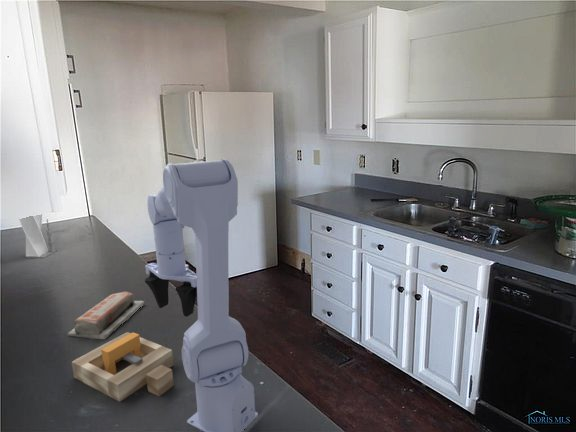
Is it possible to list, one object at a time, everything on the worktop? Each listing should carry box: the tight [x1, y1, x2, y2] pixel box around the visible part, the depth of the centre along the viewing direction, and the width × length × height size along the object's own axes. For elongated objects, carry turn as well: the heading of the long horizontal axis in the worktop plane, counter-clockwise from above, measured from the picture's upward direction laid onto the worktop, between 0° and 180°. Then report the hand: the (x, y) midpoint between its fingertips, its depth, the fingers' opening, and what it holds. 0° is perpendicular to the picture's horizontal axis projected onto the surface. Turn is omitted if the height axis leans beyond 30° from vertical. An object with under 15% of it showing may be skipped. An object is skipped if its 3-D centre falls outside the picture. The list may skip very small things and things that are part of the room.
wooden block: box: [101, 332, 142, 375], centre depth 86 cm, size 2×7×6 cm, turn 148°
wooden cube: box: [146, 365, 174, 397], centre depth 81 cm, size 3×4×4 cm
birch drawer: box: [71, 331, 175, 403], centre depth 86 cm, size 14×13×5 cm
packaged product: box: [67, 291, 145, 340], centre depth 108 cm, size 18×5×10 cm
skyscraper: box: [18, 213, 57, 259], centre depth 153 cm, size 8×8×28 cm
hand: (175, 310), depth 93 cm, fingers open, 7 cm apart
